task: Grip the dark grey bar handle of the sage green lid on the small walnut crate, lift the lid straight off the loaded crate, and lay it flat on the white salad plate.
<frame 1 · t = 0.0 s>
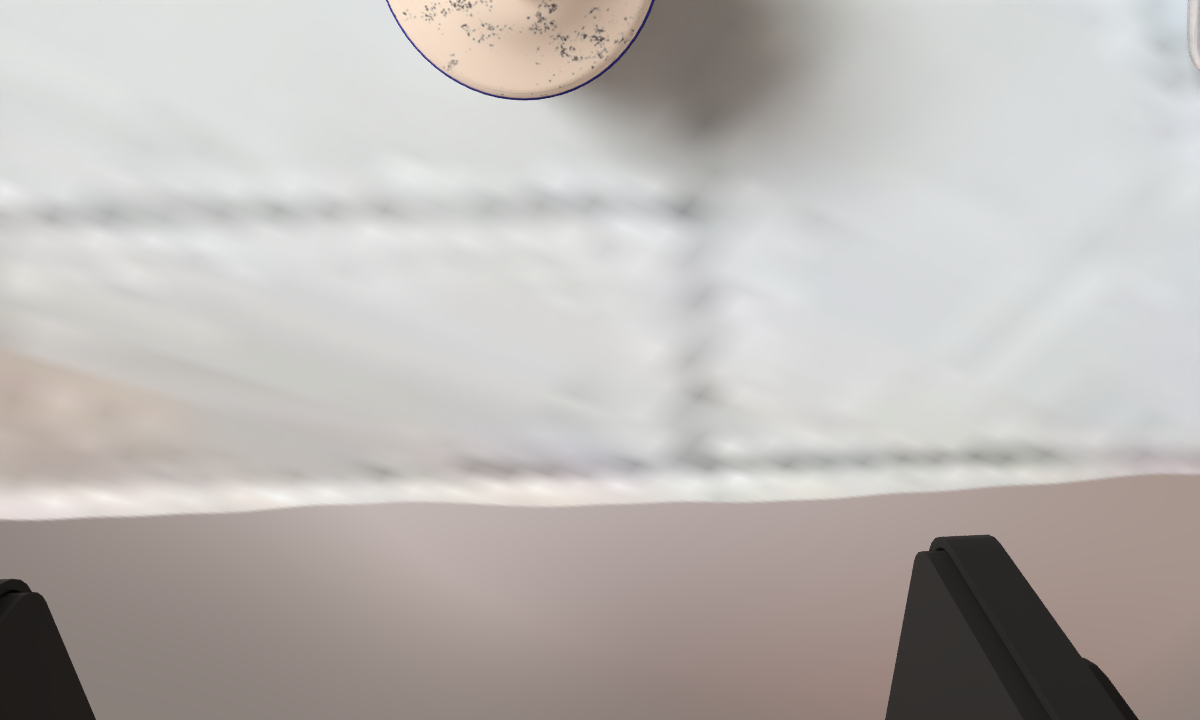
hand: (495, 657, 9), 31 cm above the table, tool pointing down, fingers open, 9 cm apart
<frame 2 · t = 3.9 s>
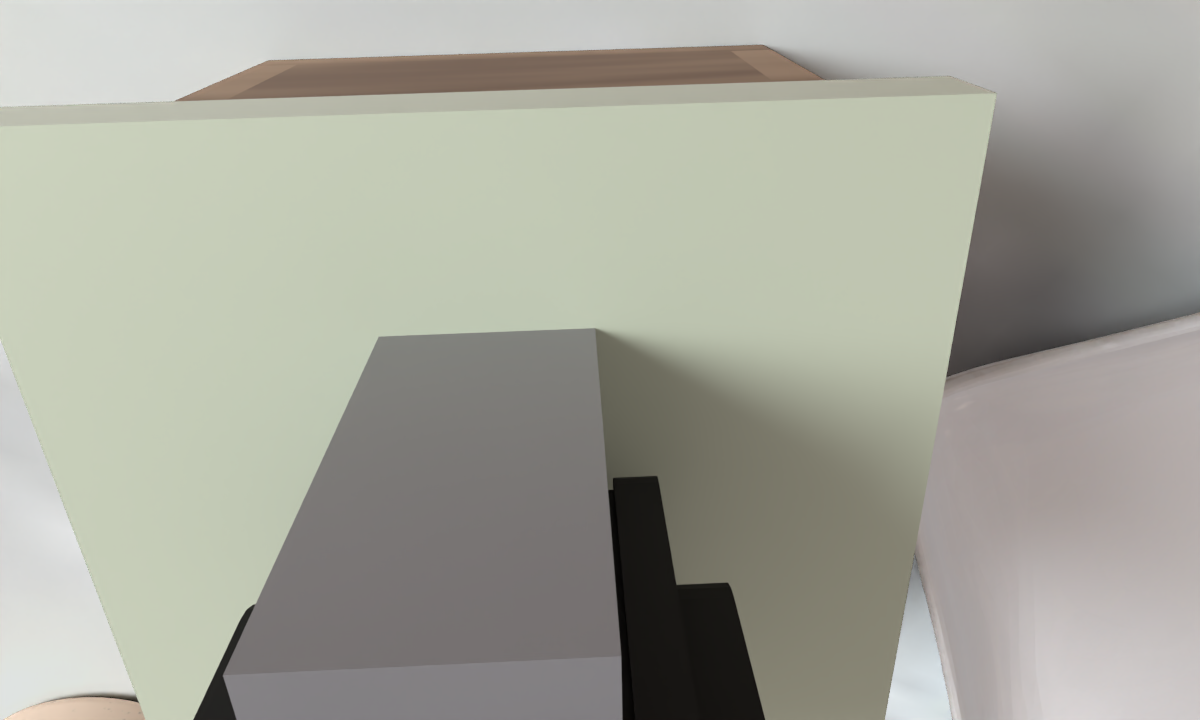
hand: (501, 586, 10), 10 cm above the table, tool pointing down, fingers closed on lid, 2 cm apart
lid: (511, 485, 12), point 8 cm above the table, touching gripper
crate: (532, 283, 19), on the table
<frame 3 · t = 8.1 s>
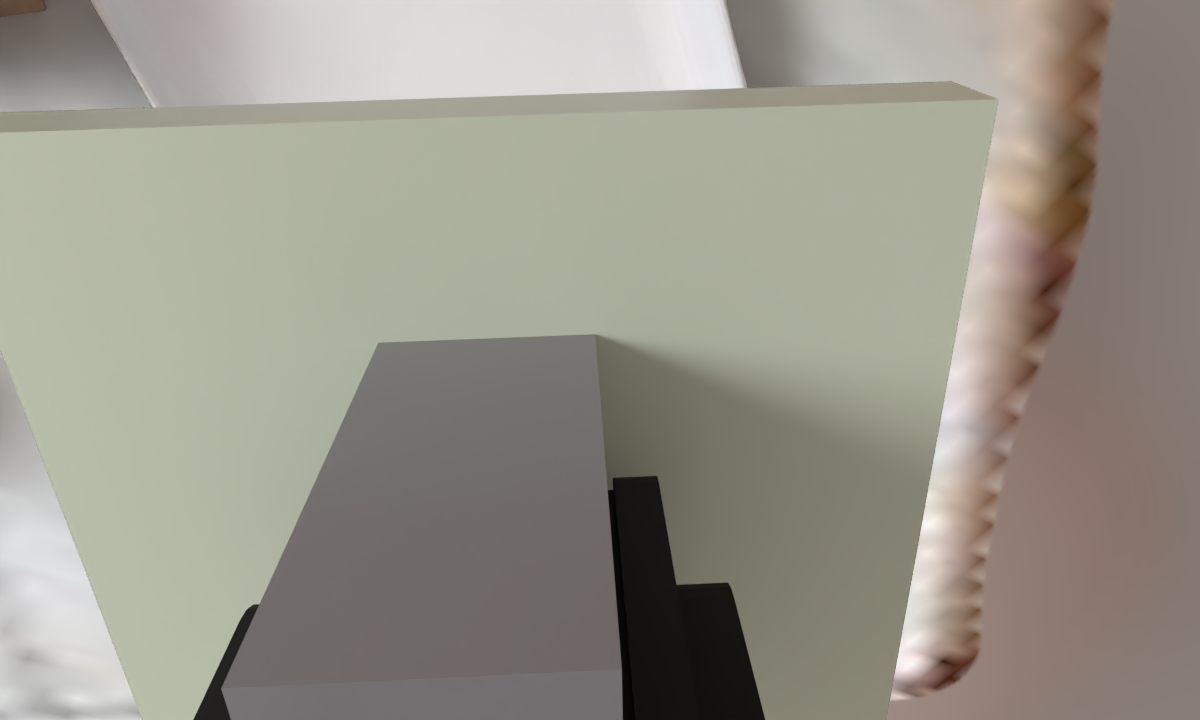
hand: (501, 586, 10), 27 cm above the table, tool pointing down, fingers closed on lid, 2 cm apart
lid: (511, 491, 12), point 25 cm above the table, touching gripper
salad plate: (470, 101, 34), on the table
when the fingers open (6 cm above the table, at t = 12.2 s): lid drops 1 cm, resting on salad plate.
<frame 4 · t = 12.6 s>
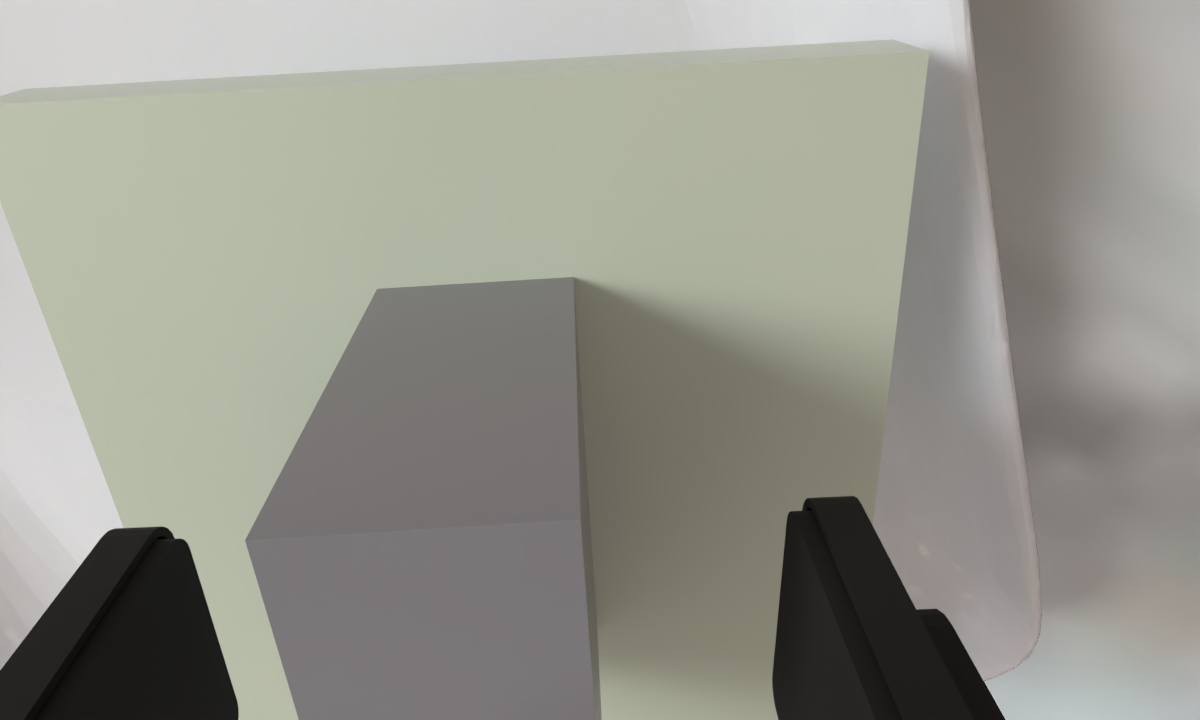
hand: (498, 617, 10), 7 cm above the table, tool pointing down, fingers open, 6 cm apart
lid: (504, 433, 13), point 3 cm above the table, touching salad plate
salad plate: (357, 296, 16), on the table, touching lid
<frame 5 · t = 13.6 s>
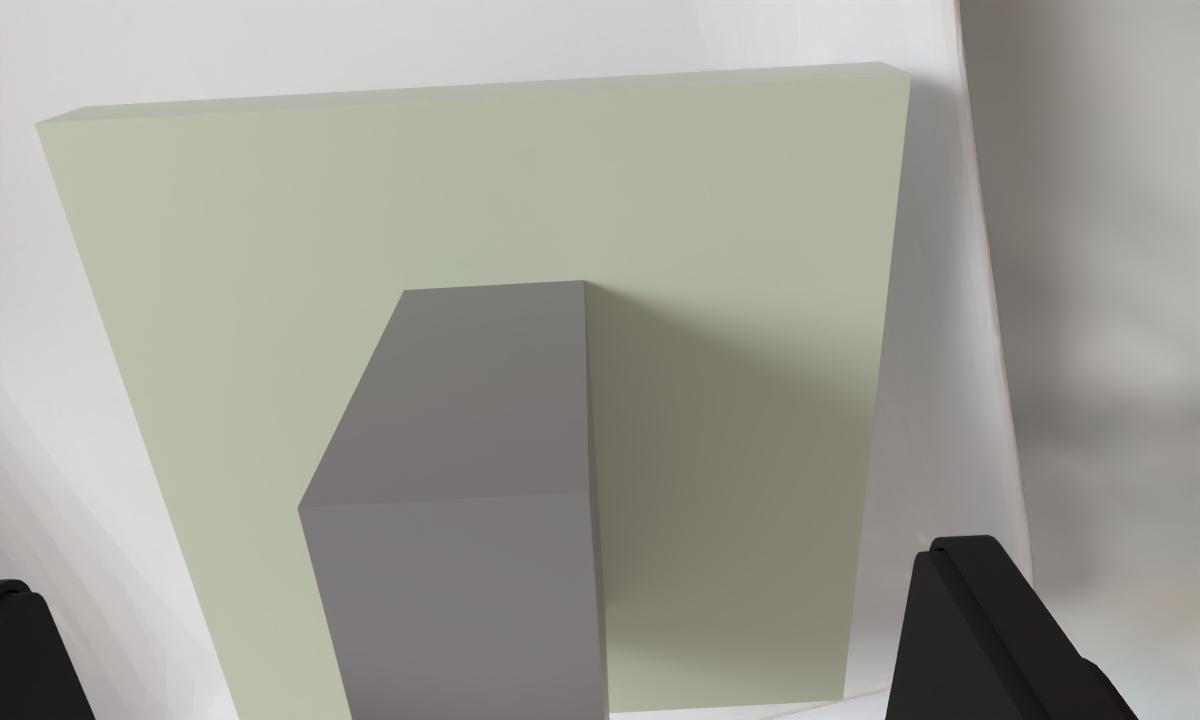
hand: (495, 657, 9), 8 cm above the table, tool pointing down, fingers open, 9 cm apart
lid: (519, 426, 14), point 3 cm above the table, touching salad plate
salad plate: (384, 293, 17), on the table, touching lid
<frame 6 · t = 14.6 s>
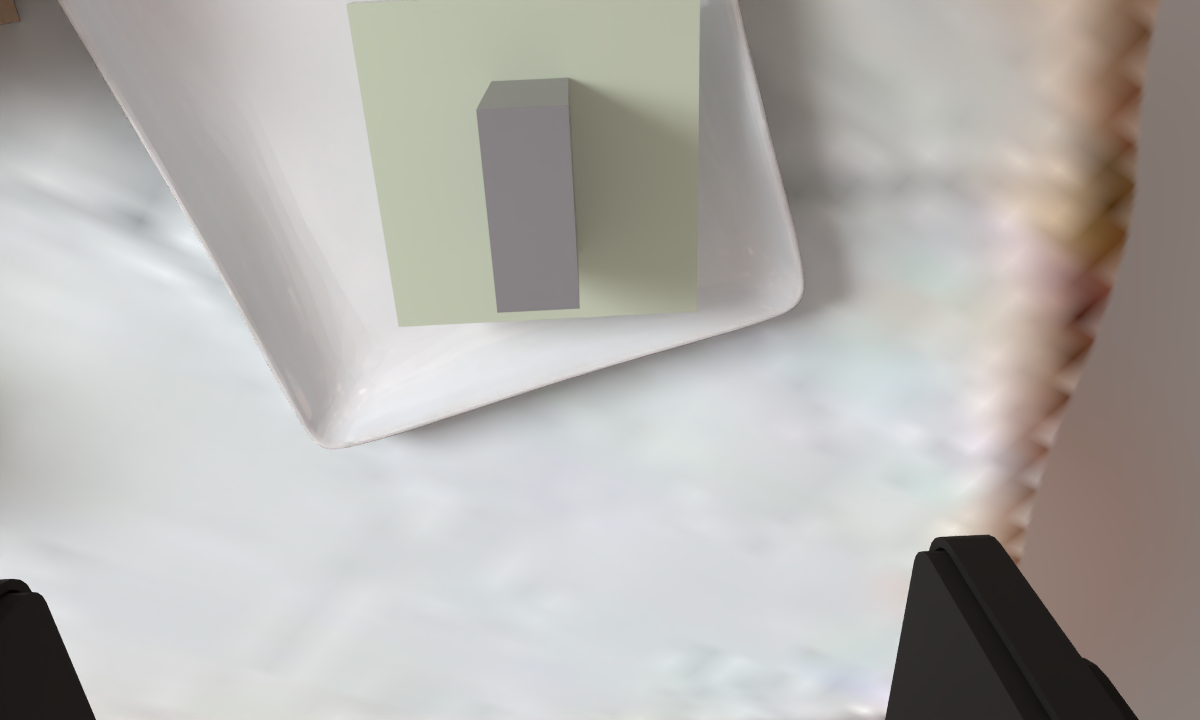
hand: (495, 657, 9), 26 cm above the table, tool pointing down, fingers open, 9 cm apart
lid: (537, 162, 30), point 3 cm above the table, touching salad plate
salad plate: (468, 116, 33), on the table, touching lid
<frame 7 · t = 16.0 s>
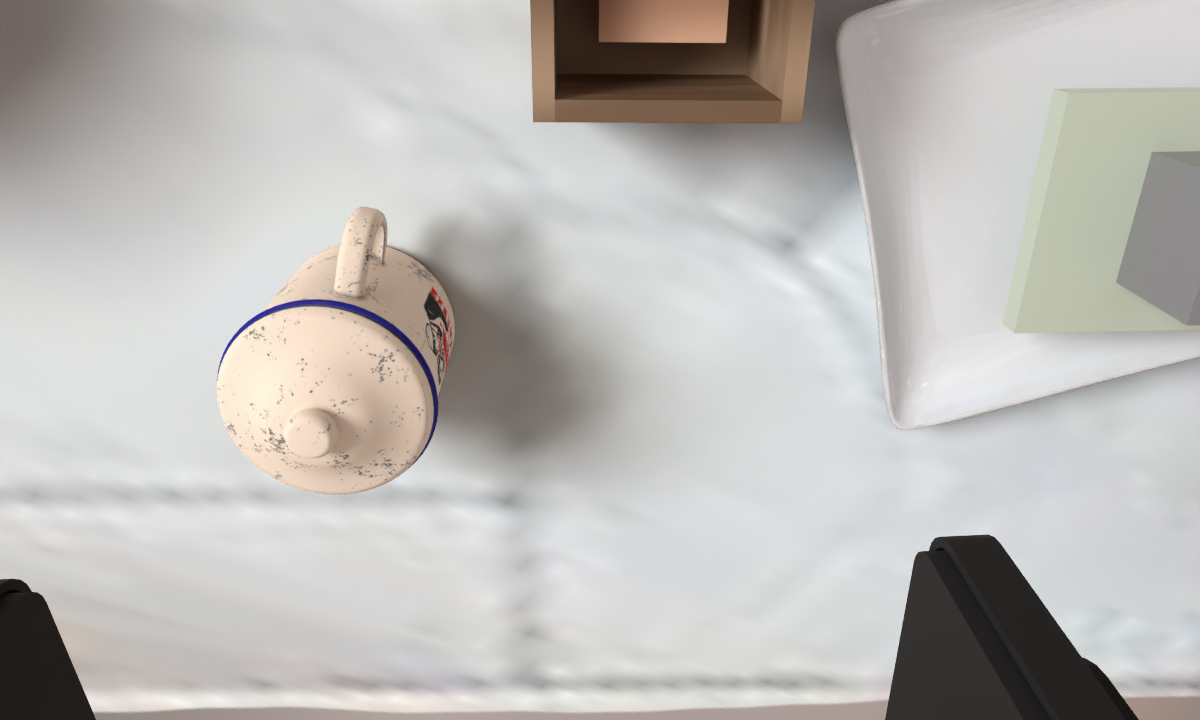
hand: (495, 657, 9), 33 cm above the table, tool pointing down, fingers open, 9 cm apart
lid: (1144, 211, 39), point 3 cm above the table, touching salad plate
salad plate: (1055, 172, 42), on the table, touching lid
teacup with lid: (375, 293, 43), on the table
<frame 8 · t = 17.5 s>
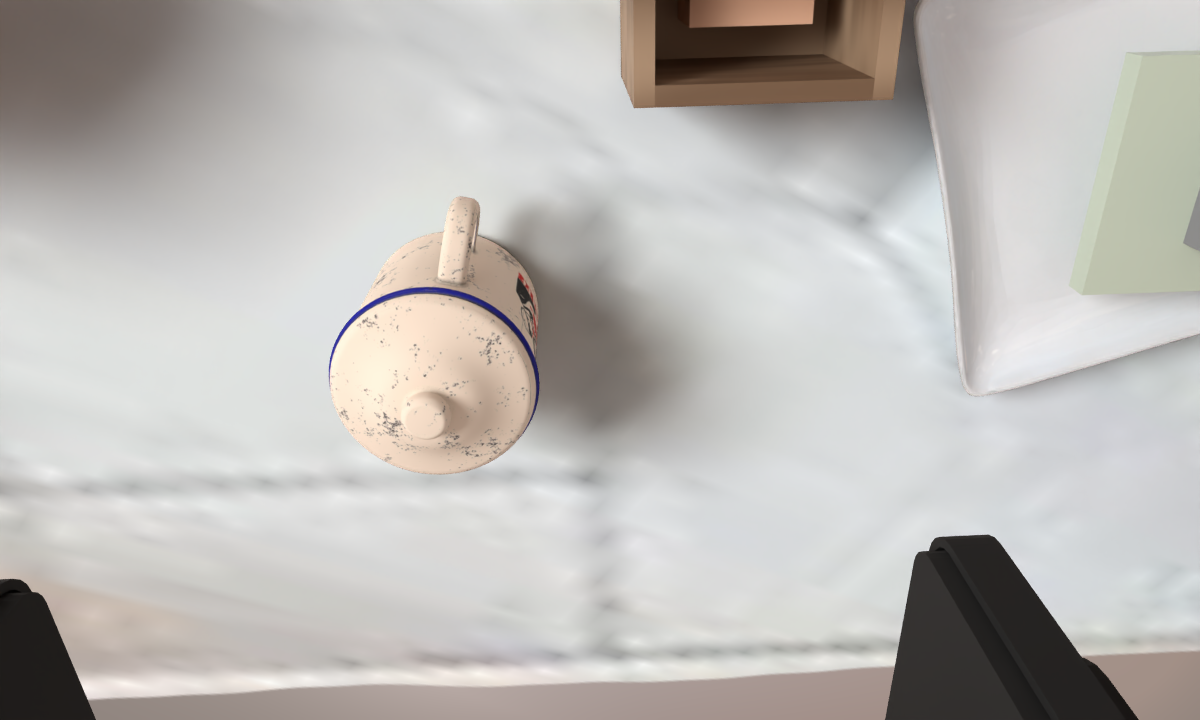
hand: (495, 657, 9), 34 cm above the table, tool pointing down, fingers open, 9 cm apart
salad plate: (1123, 138, 43), on the table, touching lid
teacup with lid: (460, 281, 44), on the table
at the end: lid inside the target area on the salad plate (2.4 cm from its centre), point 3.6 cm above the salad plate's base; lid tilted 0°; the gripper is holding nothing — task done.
